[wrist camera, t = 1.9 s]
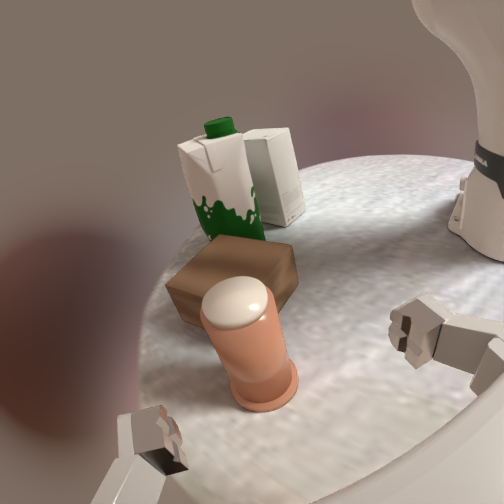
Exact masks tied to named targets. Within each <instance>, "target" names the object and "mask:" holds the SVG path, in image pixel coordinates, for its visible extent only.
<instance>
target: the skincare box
mask: <svg viewBox="0 0 504 504" xmlns="http://www.w3.org/2000/svg"><path fill="white" fill-rule="evenodd" d="M243 139H244V145H245V151H246V157H247V162H248V166H249V170H250V174H251V178H252V182H253V186H254V191H255V195H256V199H257V203H258V207H259V211H260V216H261V221H262V222H265V223H270V224H274V225H279V226H283V227H287V226H288V225H290V224H291V223H292V222H293V221H294V220H296V219H297V218H298V217H299V216H300V215H301V214H303V213H304V212H305V211H306V207H305V202H304V197H303V192H302V187H301V182H300V177H299V172H298V168H297V163H296V159H295V154H294V149H293V145H292V141H291V136H290V132H289V128H272V129H253V130H250V131H248V132H246V133H244V134H243Z"/></svg>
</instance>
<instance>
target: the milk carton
mask: <svg viewBox="0 0 504 504" xmlns="http://www.w3.org/2000/svg"><path fill="white" fill-rule="evenodd" d="M204 127H205V131H206V135H203V136H199V137H195V138H193V140H190V141H187V142H185V143H182V144H179V145H177V146H178V150H179V155H180V159H181V164H182V168H183V172H184V176H185V179H186V183H187V186H188V189H189V192H190V195H191V198H192V201H193V204H194V206H195V210H196V213H197V215H198V218H199V221H200V224H201V226H202V229H203V230H204V232H205V233H206V235H207V237H208V238H209V240H210V242H211V241H213V240H214V239H215V238H216V237H217V236H218V235H219V234H222V235H229V236H235V237H242V238H249V239H255V240H262V241H265V236H264V231H263V226H262V221H261V216H260V211H259V207H258V203H257V199H256V195H255V191H254V186H253V182H252V178H251V174H250V170H249V166H248V162H247V157H246V151H245V145H244V139H243V134H241V133H240V132H237V130H235V128H234V124H233V120H232V117H224V118H219V119H215V120H212V121H209V122H207V123H205V124H204Z"/></svg>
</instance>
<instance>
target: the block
mask: <svg viewBox="0 0 504 504" xmlns="http://www.w3.org/2000/svg"><path fill="white" fill-rule="evenodd" d="M239 276H247V277H252V278H255V279H258V280H259V281H261V282H262V283H263V284H264V285H265V286H267V287H268V288H269V289H270V290H271V292H272V293H273V296H274V300H275V304H276V308H277V312H278V313H279V311H280V310H281V309H282V307H283V306H284V304H285V303H286V301H287V300H288V298H289V297H290V296H291V294H292V293H293V291H294V290H295V288H296V287H297V285H298V284H299V283H298V277H297V271H296V266H295V260H294V254H293V249H292V245H288V244H282V243H275V242H269V241H262V240H255V239H249V238H242V237H235V236H229V235H222V234H219V235H218V236H217V237H216V238H215V239H214V240H213V241H211V242H210V243H209V244H208V245H207V246H206V247H205V248H204V249H203V250H202V251H201V252H199V253H198V254H197V255H196V256H195V257H194V258H193V259H192V260H191V261H190V262H189V263H188V264H187V265H185V266H184V267H183V268H182V269H181V270H180V271H179V272H178V273H177V274H176V275H175V276H174V277H173V278H172V279H170V280H169V281H168V282H167V283H166V284H165V286H166V288H167V290H168V292H169V294H170V296H171V298H172V300H173V302H174V304H175V306H176V308H177V310H178V312H179V314H180V316H181V318H182V320H184V321H186V322H189V323H191V324H194V325H196V326H199V327H201V328H204V325H203V323H202V321H201V318H200V310H201V307H202V301H203V298H204V296H205V294H206V293H207V292H208V291H209V290H210V289H211V288H212V287H213V286H214V285H216V284H217V283H219V282H221V281H223V280H226V279H229V278H232V277H239ZM204 329H205V328H204Z"/></svg>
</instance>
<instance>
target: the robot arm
mask: <svg viewBox="0 0 504 504" xmlns="http://www.w3.org/2000/svg"><path fill="white" fill-rule="evenodd" d="M412 4H413V7H414V10H415V12H416V14H417V16H418V18H419V19H420V21H421V22H422V23H423V25H424V26H425V27H426V28H427V29H428V30H429V31H430V32H431V33H432V34H434V35H435V36H436V37H438V38H439V39H441V40H442V41H443V42H444V43H446V44H447V45H448V46H449V47H450V48H451V49H452V50H453V51H454V52H455V53H456V55H457V56H458V57H459V58H460V59H461V61H462V63H463V64H464V66H465V67H466V69H467V71H468V73H469V75H470V77H471V80H472V83H473V86H474V90H475V95H476V102H477V112H478V140H477V141H476V146H475V149H474V156H475V158H474V165H475V166H474V167H473V169H472V171H471V173H470V174H469V176H468V178H466V177H461V179H460V190H461V192H460V194H459V197H458V199H457V202H456V205H455V207H454V210H453V212H452V215H451V217H450V219H449V222H448V229H449V230H451V231H452V232H454V233H456V234H458V235H460V236H461V237H462V238H464V239H465V240H466V242H467V243H468V244H469V245H470V246H472V247H473V248H474V249H475V250H477V251H478V252H480V253H482V254H484V255H486V256H488V257H490V258H492V259H495V260H499V261H503V262H504V0H412ZM390 320H391V321H393V322H392V324H391V325H390V327H389V334H388V335H389V338H390V341H391V343H392V345H393V346H394V347H395V348H396V349H397V351H401V352H405V359H406V360H407V361H408V362H409V363H410V364H411V365H412V366H413V367H414V368H415V369H417V368H419V367H420V366H422V365H424V364H425V363H427V362H428V361H430V360H431V359H433V360H435V361H438V362H441V363H443V364H446V365H449V366H451V367H454V368H457V369H460V370H463V371H465V372H468V373H471V374H474V377H473V379H472V381H471V383H470V388H471V390H472V391H473V392H474V393H475V394H476V395H477V396H478V397H477V398H476V399H475V400H474V401H472V402H471V403H470V404H469V405H468V406H467V407H466V408H464V409H463V410H462V411H461V412H460V413H458V414H457V415H456V416H455V417H454V418H452V419H451V420H450V421H449V422H447V423H446V424H445V425H443V426H442V427H441V428H440V429H438V430H437V431H436V432H434V433H433V434H432V435H430V436H429V437H428V438H426V439H425V440H423V441H422V442H420V443H419V444H418V445H416V446H415V447H413V448H412V449H410V450H409V451H407V452H406V453H404V454H403V455H401V456H400V457H398V458H396V459H395V460H393V461H392V462H390V463H388V464H387V465H385V466H383V467H382V468H380V469H378V470H377V471H375V472H373V473H371V474H370V475H368V476H366V477H364V478H362V479H360V480H358V481H357V482H355V483H353V484H351V485H349V486H347V487H345V488H343V489H341V490H339V491H337V492H335V493H332V494H330V495H328V496H326V497H324V498H322V499H319V500H317V501H315V502H312V503H310V504H504V322H499V321H494V320H489V319H484V318H479V317H474V316H469V315H464V314H459V313H457V314H455V315H454V314H453V313H452V312H450V311H449V310H448V309H446V308H445V307H444V306H443V305H441V304H440V303H439V302H437V301H436V300H435V299H434V298H432V297H431V296H430V295H428V294H427V293H422V294H420V295H419V296H417V297H415V298H413V299H411V300H409V301H408V302H406V303H404V304H402V305H401V306H399V307H397V308H395V309H394V310H392V312H391V313H390ZM117 434H118V435H117V436H118V452H119V458H116V459H114V461H113V463H112V465H111V467H110V469H109V470H108V472H107V474H106V476H105V478H104V480H103V482H102V483H101V485H100V487H99V489H98V491H97V493H96V494H95V496H94V498H93V500H92V502H91V504H157V503H158V500H159V497H160V494H161V491H162V488H163V485H164V481H165V479H166V476H167V475H171V474H175V473H179V472H182V471H186V470H189V468H188V463H187V459H186V455H185V452H184V451H183V450H182V449H181V448H180V446H181V444H182V437H181V434H180V431H179V428H178V426H177V424H176V423H175V421H174V420H173V418H172V417H169V416H167V412H166V409H165V408H164V407H163V406H162V405H159V406H155V407H151V408H147V409H143V410H139V411H135V412H131V413H126V414H122V415H119V416H118V419H117Z"/></svg>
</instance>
